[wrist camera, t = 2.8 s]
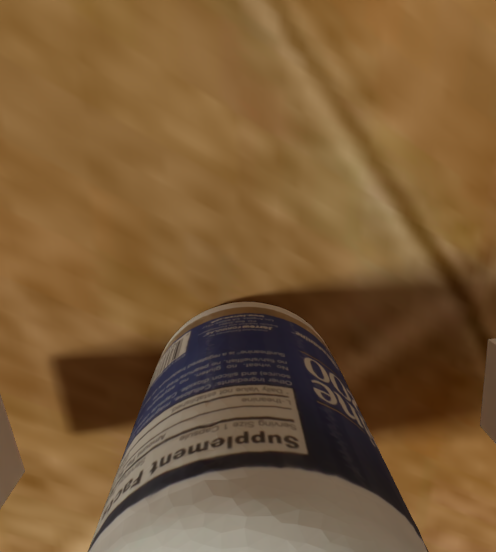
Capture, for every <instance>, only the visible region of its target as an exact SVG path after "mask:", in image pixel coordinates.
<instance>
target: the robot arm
mask: <svg viewBox="0 0 496 552" xmlns="http://www.w3.org/2000/svg"><path fill="white" fill-rule="evenodd" d="M480 426H481V428H482V429H483V430H484V431H485V432H486V433H487V434H488V435H489V437H490V438H491V439H492V440H493V441H494V442H495V443H496V338H495V339H488V346H487V356H486V367H485V377H484V388H483V399H482V409H481V420H480ZM24 472H25V470H24V466H23V463H22V460H21V457H20V454H19V451H18V448H17V445H16V441H15V438H14V435H13V432H12V429H11V426H10V423H9V420H8V417H7V413H6V410H5V407H4V404H3V401H2V398H1V395H0V509H1V507H2V506H3V504H4V503H5V501H6V499H7V498H8V496H9V495H10V493H11V492H12V490H13V489H14V487H15V486H16V484H17V483H18V481H19V480H20V478H21V477H22V475H23V473H24Z"/></svg>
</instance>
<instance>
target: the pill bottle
mask: <svg viewBox="0 0 496 552" xmlns="http://www.w3.org/2000/svg"><path fill="white" fill-rule="evenodd" d="M88 552H428V550H427V548H426V546H425V544H424V542H423V539H422V537H421V535H420V532H419V530H418V528H417V526H416V524H415V522H414V521H413V519H412V517H411V515H410V513H409V511H408V509H407V507H406V505H405V503H404V501H403V499H402V497H401V495H400V493H399V490H398V488H397V486H396V484H395V482H394V480H393V478H392V476H391V474H390V472H389V470H388V468H387V466H386V464H385V462H384V460H383V458H382V456H381V454H380V451H379V449H378V447H377V445H376V443H375V441H374V438H373V436H372V435H371V433H370V431H369V429H368V427H367V425H366V422H365V420H364V418H363V416H362V414H361V412H360V410H359V408H358V406H357V404H356V401H355V399H354V397H353V395H352V394H351V392H350V390H349V388H348V385H347V383H346V381H345V379H344V377H343V375H342V373H341V371H340V369H339V367H338V365H337V364H336V362H335V360H334V358H333V356H332V354H331V352H330V350H329V349H328V347H327V345H326V344H325V342H324V340H323V339H322V338H321V336H320V335H319V334H318V333H317V332H316V331H315V330H314V328H313V327H312V326H311V325H310V324H309V323H307V322H306V321H305V320H304V319H302V318H301V317H299V316H298V315H296V314H294V313H292V312H290V311H288V310H286V309H283V308H281V307H278V306H274V305H269V304H264V303H258V302H235V303H229V304H225V305H221V306H218V307H214V308H212V309H209V310H207V311H204V312H203V313H201V314H199V315H197V316H195V317H194V318H192V319H191V320H189V321H188V322H187V323H186V324H184V325H183V326H182V327H181V328H180V329H179V330H178V331H177V332H176V333H175V334H174V336H173V337H172V338H171V340H170V341H169V342H168V344H167V345H166V347H165V349H164V351H163V353H162V355H161V357H160V359H159V362H158V364H157V367H156V369H155V372H154V374H153V377H152V379H151V382H150V385H149V387H148V390H147V392H146V395H145V398H144V400H143V403H142V406H141V409H140V411H139V414H138V416H137V419H136V422H135V425H134V428H133V430H132V433H131V436H130V438H129V441H128V444H127V446H126V449H125V452H124V455H123V457H122V460H121V463H120V466H119V468H118V471H117V474H116V477H115V479H114V482H113V485H112V488H111V490H110V493H109V496H108V499H107V501H106V504H105V506H104V510H103V512H102V515H101V518H100V520H99V523H98V526H97V528H96V531H95V534H94V537H93V539H92V542H91V545H90V548H89V550H88Z"/></svg>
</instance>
